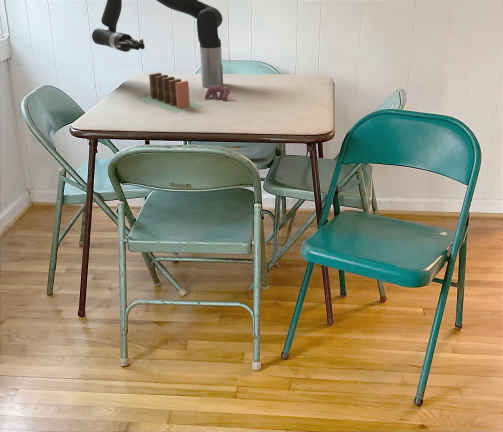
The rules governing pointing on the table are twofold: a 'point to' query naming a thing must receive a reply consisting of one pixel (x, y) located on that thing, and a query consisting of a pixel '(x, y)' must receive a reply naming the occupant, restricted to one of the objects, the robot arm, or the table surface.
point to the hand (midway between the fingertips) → (140, 46)
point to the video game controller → (217, 88)
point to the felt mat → (168, 106)
